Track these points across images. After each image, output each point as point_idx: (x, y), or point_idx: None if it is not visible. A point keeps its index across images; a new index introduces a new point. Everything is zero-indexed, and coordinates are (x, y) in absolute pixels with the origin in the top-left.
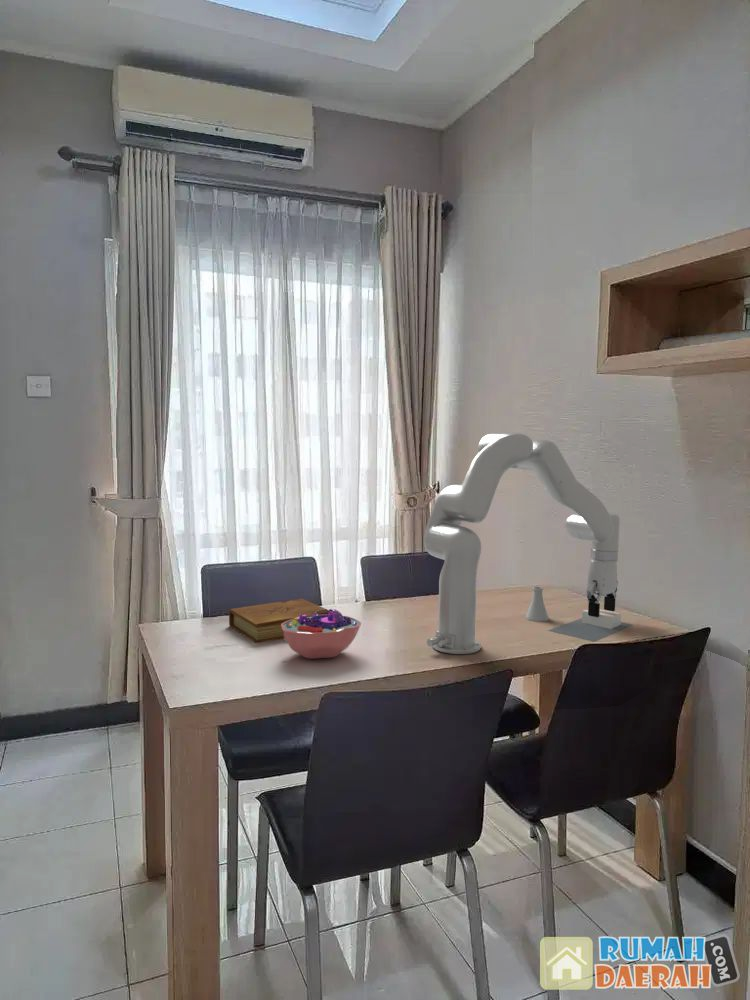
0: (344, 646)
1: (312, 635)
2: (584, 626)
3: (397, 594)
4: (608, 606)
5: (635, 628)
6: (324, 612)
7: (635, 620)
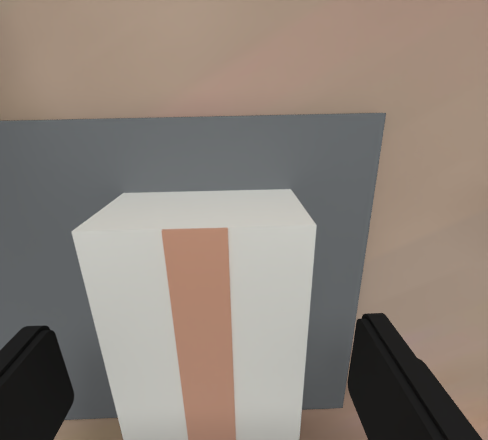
0: None
1: None
2: (47, 261)
3: None
4: (367, 383)
5: (309, 416)
6: None
7: (484, 356)
